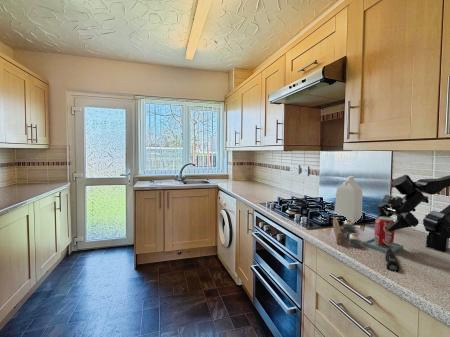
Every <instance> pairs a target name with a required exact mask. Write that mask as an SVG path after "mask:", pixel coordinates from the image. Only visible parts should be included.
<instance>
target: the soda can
mask: <svg viewBox="0 0 450 337" xmlns="http://www.w3.org/2000/svg"><path fill="white" fill-rule="evenodd" d="M376 218H377V220H376V219H375V220H376V222H375V221H374V222H375V224H374V235H373V236H374V237H373V238H374V242H375V243H376V244H377V245H378V246H381V247H385V248H389V247H391V246H393V243H395V242H394V239H395V230H394V231H391V232H389V231H388V228H389V227H390V226H391V225H392V224H393V223H394V222H395V221H394V219H393V217H391V216H390V217H384V216H379V217H377V216H376Z"/></svg>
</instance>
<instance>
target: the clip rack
mask: <svg viewBox="0 0 450 337" xmlns="http://www.w3.org/2000/svg"><path fill="white" fill-rule="evenodd" d="M332 227H333V231H334V232H333V233H334V237H335V241H336V244H337V245H340V244H341V245H342V231H341V227H340V224H339V220H337V217H334V216H333V221H332ZM342 227H343V232H344V233H345V240H347V242H348V245H350V246H349V247H353V246H354V248H361V240H360V239H359V240H357V239H350V234H351V233H355V232H356V227H355V226H354V224H352V225H350V224H344V221H342ZM355 234H357V235H358V236H359V237H360V235H359V233H355ZM349 239H350V243H349Z"/></svg>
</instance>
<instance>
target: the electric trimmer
mask: <svg viewBox="0 0 450 337" xmlns="http://www.w3.org/2000/svg"><path fill="white" fill-rule="evenodd" d="M384 258H385V261H386V270H388V271H390V270H391V271H390V272H394V271H396V272H395V273H399V272H400V266H399V263H398V261H397V258H396V256H395V253H393V251H392V250H391V249H388V250H387V252H386V253H385V256H384ZM398 271H399V272H398Z"/></svg>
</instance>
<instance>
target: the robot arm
mask: <svg viewBox="0 0 450 337" xmlns="http://www.w3.org/2000/svg"><path fill="white" fill-rule="evenodd" d="M391 185H392V186H393V187H394V188H395V189H396V190H397V191H398V193H400V194H401V195H404V196H403V197H401V196H398V195H397V196H395V197H394V196H393V195H389V194H385V195H384V196H383V198H382V200H381V201H382V202H379V204H377V205H376V207H377V210H378V213H377V216H376V218H375V221H374V225H375V222H376V220H377V217H379V216H384V217H390V218H391V217H392V216H396V220H395V221H394V223H393V224H392V225H391V226H390V227H389V228H388V231H389V232H391V231H394V232H395V231H399V230H401V229H407V228H412V227H413V228H416V227H417V226H418V225H419V222H420V220H419V219H418V218H417V217H416V216H415V214H413V213H412V212H416V210H417V209H416V207H417V206H418V205H420V204H421V203H425V204H429V202H430V200H429V196H427V195H431V196H432V195H433V196H434V195H437V194H438V193H440V192H442V191H443V190H444V189H445V188H450V174H449V175H446V176H442V177H437V178H421V179H418V180H416V181H413V180H412V178H411V176H410V175H408V174H403V175H402V176H399V177H397V178H395V179H393V180H392V182H391ZM424 194H426V195H424ZM388 204H389V205H388ZM422 224H423V227H424V229H425V232H428V234H427V235H426V240H425V241H426V242H425V244H426V245H425V247H426V248H427V249H432V250H436V251H439V252H443V253H445V252H447V251H449V250H450V247H449V245H450V244H449V243H450V204H449V205H447V206H446V207H445V208H443V209H442V210H440V211H437V210H430V212H429V213H428V214H425V215H424V218H423V219H422Z"/></svg>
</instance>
